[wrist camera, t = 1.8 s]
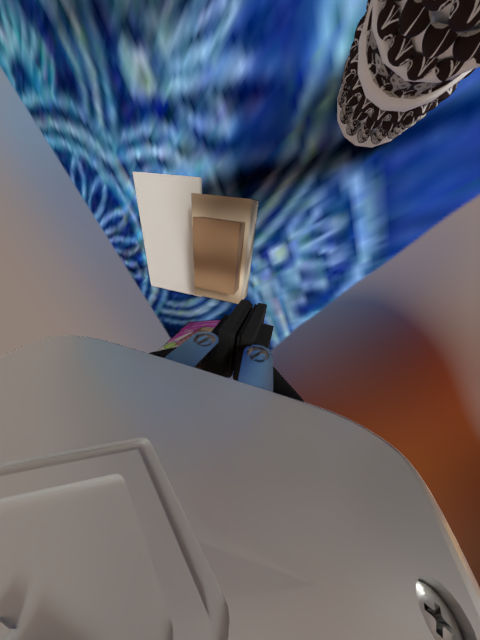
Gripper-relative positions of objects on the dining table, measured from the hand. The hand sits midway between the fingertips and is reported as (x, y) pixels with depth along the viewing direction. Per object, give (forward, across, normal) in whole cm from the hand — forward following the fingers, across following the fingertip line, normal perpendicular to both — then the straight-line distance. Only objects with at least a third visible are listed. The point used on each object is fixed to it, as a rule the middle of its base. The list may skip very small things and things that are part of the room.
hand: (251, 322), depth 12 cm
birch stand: (+19, +9, -1) cm, 21 cm away
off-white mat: (+19, +19, -1) cm, 27 cm away
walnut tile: (+15, +8, -1) cm, 17 cm away
